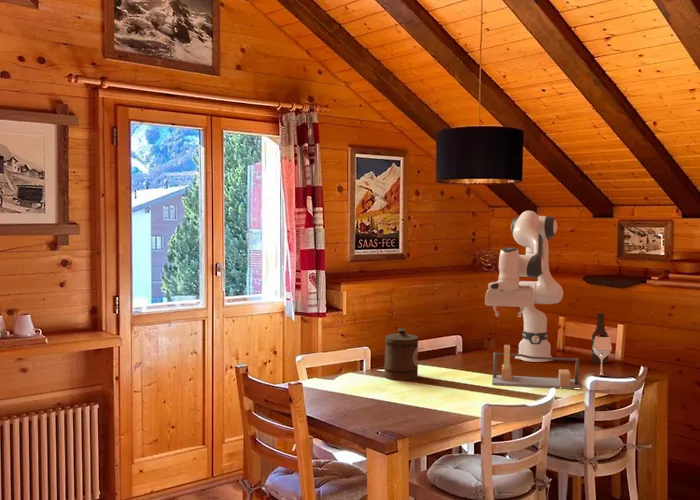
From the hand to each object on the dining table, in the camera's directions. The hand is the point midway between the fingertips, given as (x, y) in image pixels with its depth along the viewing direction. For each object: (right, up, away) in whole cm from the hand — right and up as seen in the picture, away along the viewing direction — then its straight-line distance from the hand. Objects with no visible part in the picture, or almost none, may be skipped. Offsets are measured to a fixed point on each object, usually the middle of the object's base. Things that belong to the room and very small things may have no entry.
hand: (508, 316), depth 309 cm
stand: (+11, -28, -3) cm, 31 cm away
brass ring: (0, -22, +1) cm, 22 cm away
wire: (+11, -17, -3) cm, 21 cm away
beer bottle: (+54, -26, +39) cm, 71 cm away
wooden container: (-46, -28, +8) cm, 54 cm away
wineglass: (+45, -28, +12) cm, 54 cm away
